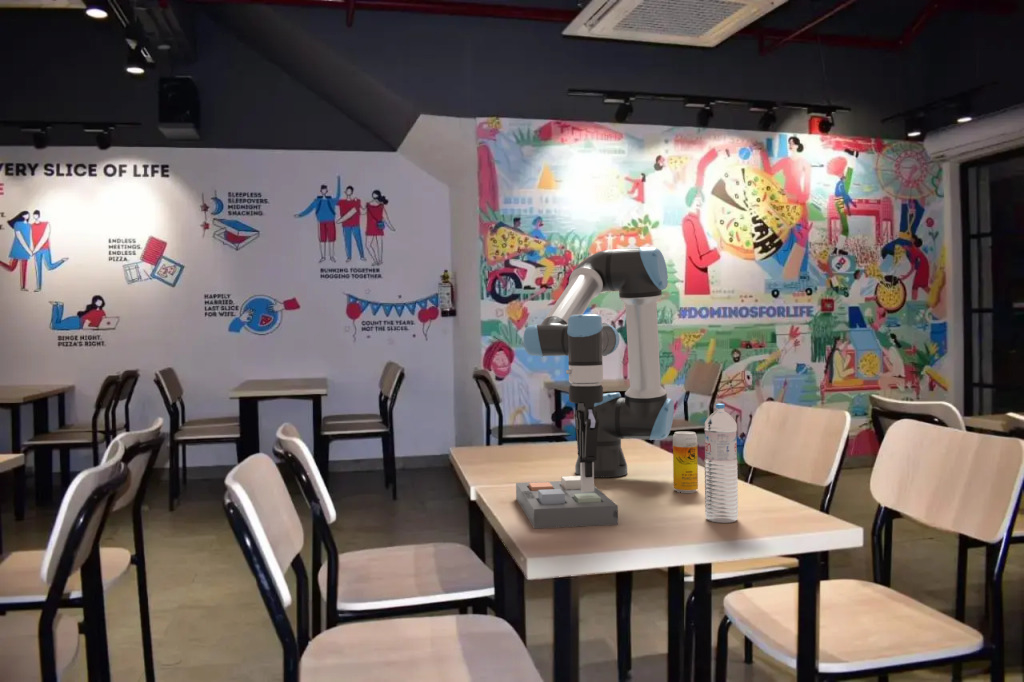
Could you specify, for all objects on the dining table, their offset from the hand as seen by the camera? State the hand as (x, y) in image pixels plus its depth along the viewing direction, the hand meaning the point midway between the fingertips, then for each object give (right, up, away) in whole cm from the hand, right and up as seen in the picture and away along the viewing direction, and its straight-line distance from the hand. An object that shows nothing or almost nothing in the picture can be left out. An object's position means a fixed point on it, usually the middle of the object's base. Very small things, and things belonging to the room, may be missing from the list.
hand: (587, 490), depth 160 cm
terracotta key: (-10, -4, +13) cm, 17 cm away
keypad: (-5, -6, +6) cm, 10 cm away
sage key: (0, -4, 0) cm, 4 cm away
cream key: (-2, -3, +14) cm, 14 cm away
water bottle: (+29, -6, -4) cm, 29 cm away
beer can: (+28, -6, +26) cm, 38 cm away
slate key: (-8, -3, -1) cm, 9 cm away
